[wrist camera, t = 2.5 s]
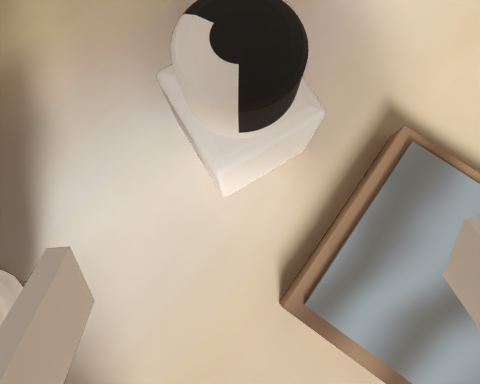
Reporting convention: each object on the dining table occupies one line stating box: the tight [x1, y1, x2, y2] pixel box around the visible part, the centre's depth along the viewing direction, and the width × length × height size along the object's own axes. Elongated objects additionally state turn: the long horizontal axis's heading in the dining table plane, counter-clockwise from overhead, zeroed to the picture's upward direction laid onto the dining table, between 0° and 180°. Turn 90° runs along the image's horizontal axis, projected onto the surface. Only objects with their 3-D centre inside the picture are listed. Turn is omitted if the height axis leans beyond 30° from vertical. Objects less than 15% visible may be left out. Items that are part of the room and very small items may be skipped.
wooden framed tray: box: [279, 125, 480, 384], centre depth 25 cm, size 18×16×3 cm
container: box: [157, 0, 325, 197], centre depth 22 cm, size 8×8×13 cm
